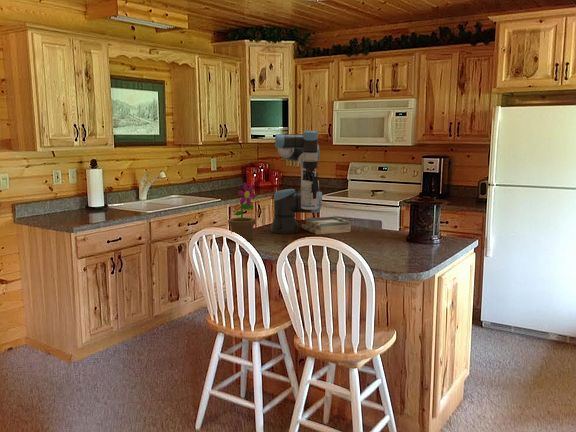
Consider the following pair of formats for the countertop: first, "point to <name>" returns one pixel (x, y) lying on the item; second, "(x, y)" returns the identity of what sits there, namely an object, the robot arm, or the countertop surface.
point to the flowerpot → (242, 224)
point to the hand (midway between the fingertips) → (309, 203)
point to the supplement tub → (308, 195)
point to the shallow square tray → (327, 225)
